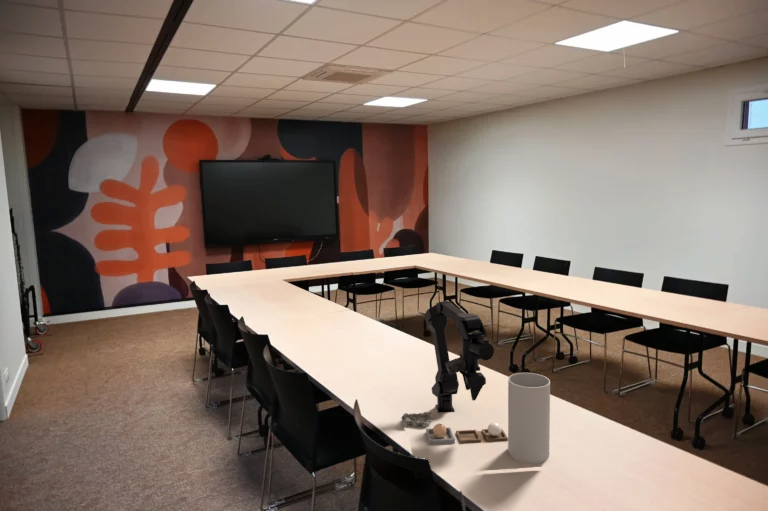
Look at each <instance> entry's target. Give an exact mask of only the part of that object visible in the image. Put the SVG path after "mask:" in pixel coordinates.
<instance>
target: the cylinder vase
mask: <svg viewBox="0 0 768 511" xmlns="http://www.w3.org/2000/svg"><path fill="white" fill-rule="evenodd" d="M507 384H508V386H507V387H508V388H507V390H508V391H507V396H508V397H507V400H508V401H507V403H508V404H507V405H508V406H507V414H508V415H507V417H508V418H507V422H508V423H507V428H508V429H507V430H508V431H507V432H508V433H507V434H508V435H507V437H508V441H507V444H508V445H507V447H508V448H507V451H508V454H509V456H510V457H511V458H513V459H514V460H515V461H518V462H521V463H526V464H541V463H544V462H546V461H547V460H549V458H550V438H551V436H550V435H551V434H550V432H551V431H550V426H551V425H550V422H551V417H550V416H551V380H550V379H549V378H548V377H547V376H545V375H542V374H538V373H533V372H518V373H513V374H511V375H509V376H508V378H507Z"/></svg>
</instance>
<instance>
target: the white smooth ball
mask: <svg viewBox="0 0 768 511" xmlns="http://www.w3.org/2000/svg"><path fill="white" fill-rule="evenodd" d="M501 428H502V426H501V424H499V423H498V422H495V421H494V422H491V423H489V424H488V426H487V429H488V432H489V434H490V435H491V436H494V437H496V436H499V435H500V434H501V431H502V429H503V428H502V429H501Z"/></svg>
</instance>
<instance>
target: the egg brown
mask: <svg viewBox="0 0 768 511" xmlns="http://www.w3.org/2000/svg"><path fill="white" fill-rule="evenodd" d="M446 428H447V427H446V426H445V425H444V424H442V423H436V424H435V425H434V426H433V428H432V429H433V433H432V434H433V435H434V436H435V438H437V439H443V438H444V437H445V436H446V435H447V433H448V432H447V430H446Z"/></svg>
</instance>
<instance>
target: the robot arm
mask: <svg viewBox="0 0 768 511" xmlns="http://www.w3.org/2000/svg"><path fill="white" fill-rule="evenodd" d="M423 316H424V320H425V323H426V326H427V328H428V329H429V330H430V332H431V334H432V340H433V346H434V351H435V359H436V365H437V366H436V367H437V372H436V374H435V380H434V381H435V383H434V384H433V385H432V386H431V393H432V395H434V397H436V398H437V399H436V400H437V404H435V409H436V411H437V413H440V414H441V413H454V412H455V408H454V406H453V395H457V394H458V392H459V385H460V383H459V380H458V373H460V374H461V375H462V379H463V383H464V385H465V386H464V388H465V390H466V391H469V392H470V397H471V400H472V401H476V400H477V399H478V398H477V397H478V396H479V394H480V392H481V391H482V389H483V386H485V385H486V384H487V378H486V377H485V376H484V374H483V373H482V372H479V371H481V367H480V365H479V364H480V363H479V362H480V360H483V361H489V360H491V359H492V357H493V356H494V353H495V348H494V346H493V345H492V344H491V343H489V342H490V341H489V339H488V338H487V337H488V335H487V330H486V328H485V326H484V324H483V322H482V319H481V317H480V316H479V315H477V314H474V313H469V312H468V313H467V312H464V310H461V309H460V308H459V307H457V306H456V305H455V304H453V303H452V302H451V301H449V300H443V301H438V302H436V303H435V305H433V306H431V307H429V308H428V309H426V312H425V313H424V315H423ZM448 319H449V320H451V321H452V322H454V323H455V324H456V329H458V331H459V332H460V333H459V334H458V336H459V337H460V338H461V352H460V353H459V357H457V358H454V359H450V356H449V349H448V344H447V337H446V328H447V325H448Z"/></svg>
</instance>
